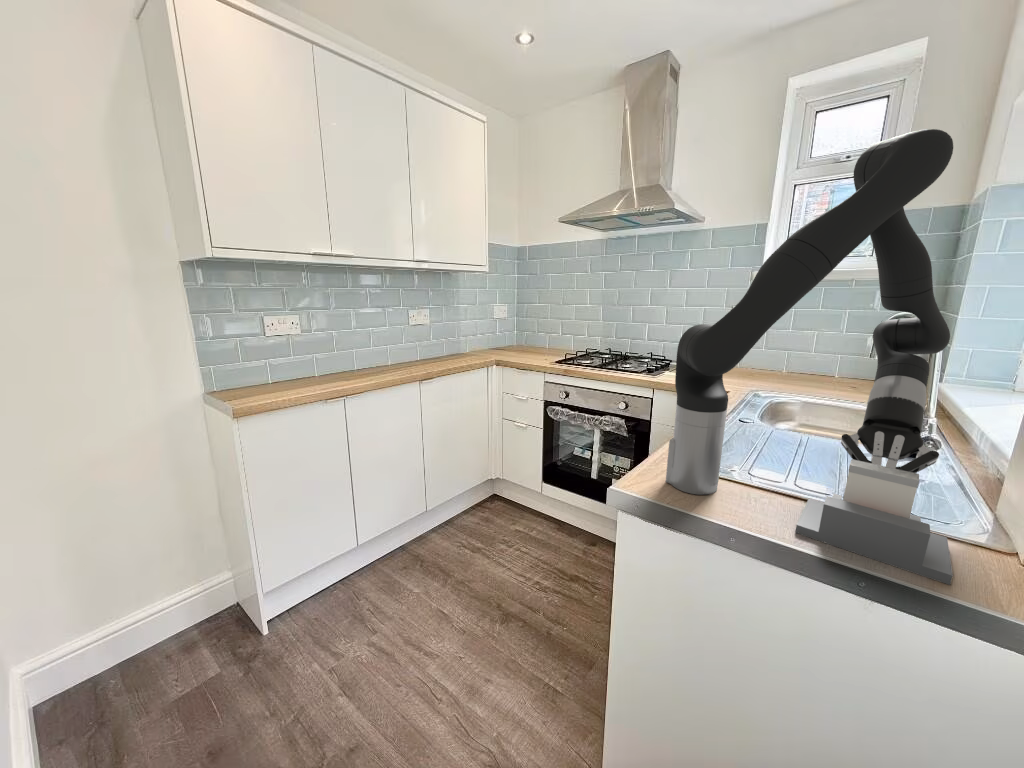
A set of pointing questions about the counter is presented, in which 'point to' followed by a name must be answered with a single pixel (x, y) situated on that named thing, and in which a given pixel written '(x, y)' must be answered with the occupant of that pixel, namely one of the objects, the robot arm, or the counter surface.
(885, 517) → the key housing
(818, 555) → the counter surface
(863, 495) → the light grey upright block
